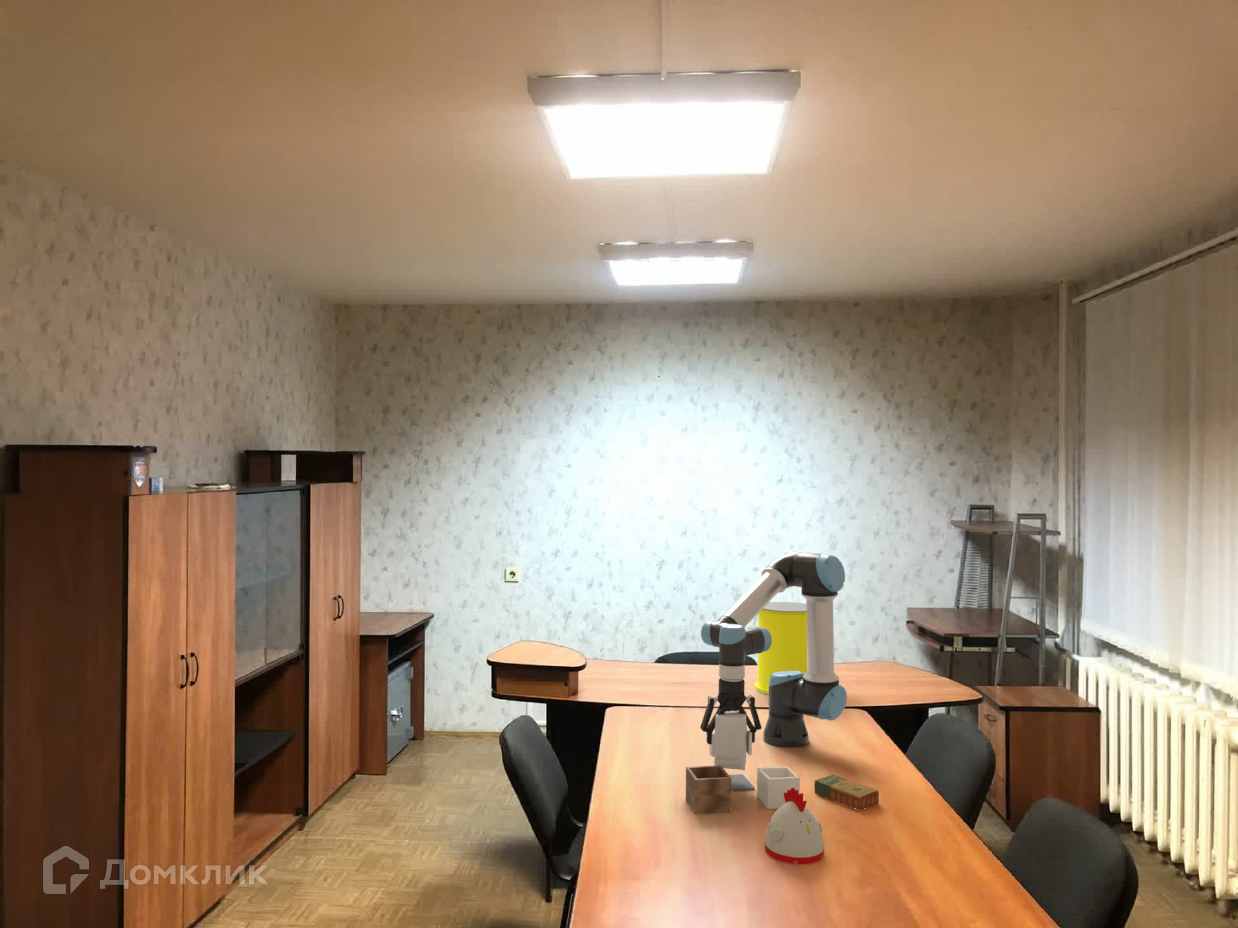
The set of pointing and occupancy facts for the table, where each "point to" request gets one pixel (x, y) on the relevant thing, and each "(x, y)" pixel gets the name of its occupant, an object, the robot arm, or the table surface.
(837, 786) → the carton
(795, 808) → the kitchen timer
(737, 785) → the coaster
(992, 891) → the table surface
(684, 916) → the table surface
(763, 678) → the container
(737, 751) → the supplement box
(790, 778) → the ceramic pot
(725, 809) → the walnut pot
